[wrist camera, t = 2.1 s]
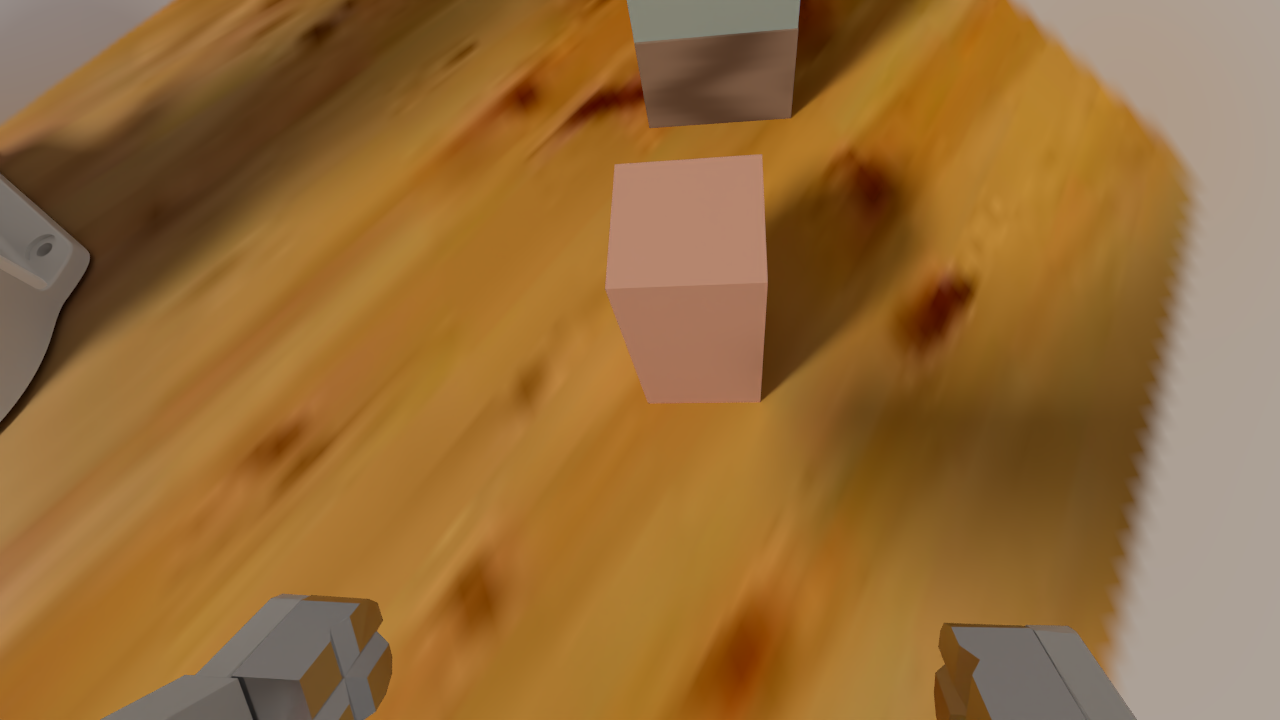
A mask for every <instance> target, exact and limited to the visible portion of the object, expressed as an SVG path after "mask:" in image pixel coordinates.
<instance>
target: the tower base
mask: <svg viewBox="0 0 1280 720" xmlns="http://www.w3.org/2000/svg"><path fill="white" fill-rule="evenodd" d="M797 41H798V28H794V29H783V30H772V31H760V32H749V33H737V34H726V35H714V36H703V37H692V38H680V39H669V40H657V41H646V42H635V49H636V55H637V60H638V66H639V72H640V77H641V83H642V88H643V94H644V100H645V105H646V111H647V116H648V122H649V128H658V127H672V126H686V125H700V124H714V123H728V122H743V121H757V120H771V119H785V118H791V110H792V99H793V87H794V75H795V64H796V52H797Z"/></svg>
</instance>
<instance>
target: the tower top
mask: <svg viewBox="0 0 1280 720" xmlns="http://www.w3.org/2000/svg"><path fill="white" fill-rule="evenodd" d="M627 4H628V9H629V15H630V21H631V26H632V32H633V37H634V43H635V42H646V41H657V40H669V39H680V38H692V37H703V36H714V35H726V34H737V33H749V32H760V31H772V30H783V29H794V28H798V21H799V9H800V0H627Z"/></svg>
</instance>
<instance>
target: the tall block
mask: <svg viewBox="0 0 1280 720" xmlns="http://www.w3.org/2000/svg"><path fill="white" fill-rule="evenodd" d="M767 288H768V275H767V253H766V231H765V209H764V187H763V165H762V154H760V155H746V156H731V157H716V158H702V159H687V160H673V161H658V162H644V163H629V164H615V170H614V183H613V196H612V209H611V221H610V234H609V247H608V260H607V272H606V285H605V290H606V292H607V295H608V298H609V300H610V303H611V306H612V308H613V311H614V314H615V316H616V319H617V322H618V324H619V327H620V330H621V332H622V335H623V338H624V340H625V343H626V346H627V348H628V351H629V354H630V356H631V359H632V361H633V364H634V367H635V369H636V372H637V375H638V377H639V380H640V383H641V385H642V388H643V391H644V393H645V396H646V399H647V401H648V403H725V402H760V399H761V384H762V368H763V352H764V336H765V320H766V304H767Z"/></svg>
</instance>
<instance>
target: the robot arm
mask: <svg viewBox="0 0 1280 720" xmlns="http://www.w3.org/2000/svg"><path fill="white" fill-rule="evenodd" d="M89 261H90V254H89V252H88V251H87V249H86V248H84V247H83V246H82V245H81V244H80V243H79V242H78V241H77V240H75V239H74V238H73V237H72V236H71V235H70V234H69V233H67V232H66V231H65V230H64V229H63V228H62V227H61V226H60V225H58V224H57V223H56V222H55V221H54V220H53V219H52V218H50V217H49V216H48V215H47V214H46V213H45V212H44V211H43V210H41V209H40V208H39V207H38V206H37V205H36V204H35V203H33V202H32V201H31V200H30V199H29V198H28V197H27V196H26V195H24V194H23V193H22V192H21V191H20V190H19V189H18V188H16V187H15V186H14V185H13V184H12V183H11V182H10V181H9V180H7V179H6V178H5V177H4V176H3V175H2V174H1V173H0V422H1V420H2V419H3V418H4V417H5V416H6V415H7V413H8V412H9V411H10V410H11V409H12V407H13V406H14V405H15V403H16V402H17V401H18V399H19V398H20V397H21V395H22V394H23V392H24V391H25V389H26V388H27V386H28V385H29V383H30V382H31V380H32V378H33V377H34V375H35V373H36V371H37V370H38V368H39V366H40V364H41V362H42V360H43V357H44V355H45V353H46V350H47V348H48V345H49V343H50V340H51V336H52V333H53V330H54V326H55V323H56V320H57V317H58V314H59V312H60V310H61V308H62V305H63V304H64V302H65V301H66V299H67V298H68V297H69V295H70V294H71V292H72V291H73V289H74V288H75V287H76V285H77V284H78V282H79V281H80V279H81V278H82V276H83V274H84V273H85V271H86V269H87V267H88V264H89ZM382 621H383V619H382V616H381V612H380V609H379V606H378V603H377V602H375V601H372V600H370V599H361V598H346V597H332V596H317V595H311V596H306V595H292V594H281V595H279V596H276V597H273V598H271V599H270V600H269V601H268V602H267V603H266V604H265V605H264V606H263V607H262V608H261V609H260V610H259V611H258V612H257V613H256V614H255V615H254V616H253V617H252V618H251V619H250V620H249V621H248V622H247V623H246V624H245V625H244V626H243V627H242V628H241V629H240V630H239V631H238V632H237V633H236V634H235V635H234V636H233V637H232V639H231V640H230V641H229V642H228V643H227V644H226V645H225V646H224V647H223V648H222V649H221V650H220V651H219V652H218V653H217V654H216V655H215V656H214V657H213V658H212V659H211V660H210V661H209V662H208V663H207V664H206V665H205V666H204V667H203V668H202V669H201V670H200V671H199V672H198V673H197V674H196V675H184V676H182V677H181V678H179V679H177V680H175V681H173V682H171V683H169V684H167V685H165V686H163V687H162V688H160V689H158V690H156V691H154V692H152V693H150V694H148V695H146V696H144V697H142V698H141V699H139V700H137V701H135V702H133V703H131V704H129V705H127V706H125V707H123V708H122V709H120V710H118V711H116V712H114V713H112V714H110V715H108V716H106V717H104V718H103V719H101V720H364V719H366V718H367V717H368V716H370V715H371V714H373V713H374V712H375V711H376V710H377V708H378V707H379V705H380V703H381V702H382V700H383V698H384V696H385V695H386V692H387V689H388V685H389V682H390V678H391V675H392V654H391V650H390V646H389V643H388V642H387V641H386V640H385V639H384V638H383V637H382V636H381V635H380V634H379V633H378V632H377V630H378V628H379V626H380V625H381V623H382ZM938 647H939V649H940V652H941V655H942V657H943V660H944V662H945V665H943V666H942V667H941V668H940V669H939V670H938V671H937V672H936V673H935V687H934V698H935V710H936V718H937V720H1137V719H1136V718H1135V716H1134V715H1133V713H1132V712H1131V710H1130V709H1129V708H1128V706H1127V705H1126V703H1125V702H1124V700H1123V699H1122V697H1121V696H1120V694H1119V693H1118V692H1117V690H1116V689H1115V687H1114V686H1113V684H1112V683H1111V681H1110V680H1109V678H1108V677H1107V676H1106V674H1105V673H1104V671H1103V670H1102V668H1101V667H1100V665H1099V664H1098V662H1097V661H1096V660H1095V658H1094V657H1093V655H1092V654H1091V652H1090V651H1089V649H1088V648H1087V646H1086V645H1085V644H1084V642H1083V641H1082V639H1081V638H1080V636H1079V635H1078V633H1077V632H1076V631H1075V630H1073V629H1072V628H1070V627H1069V626H1047V625H1026V626H1021V625H992V624H963V623H944V624H943V626H942V628H941V631H940V638H939V646H938Z"/></svg>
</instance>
